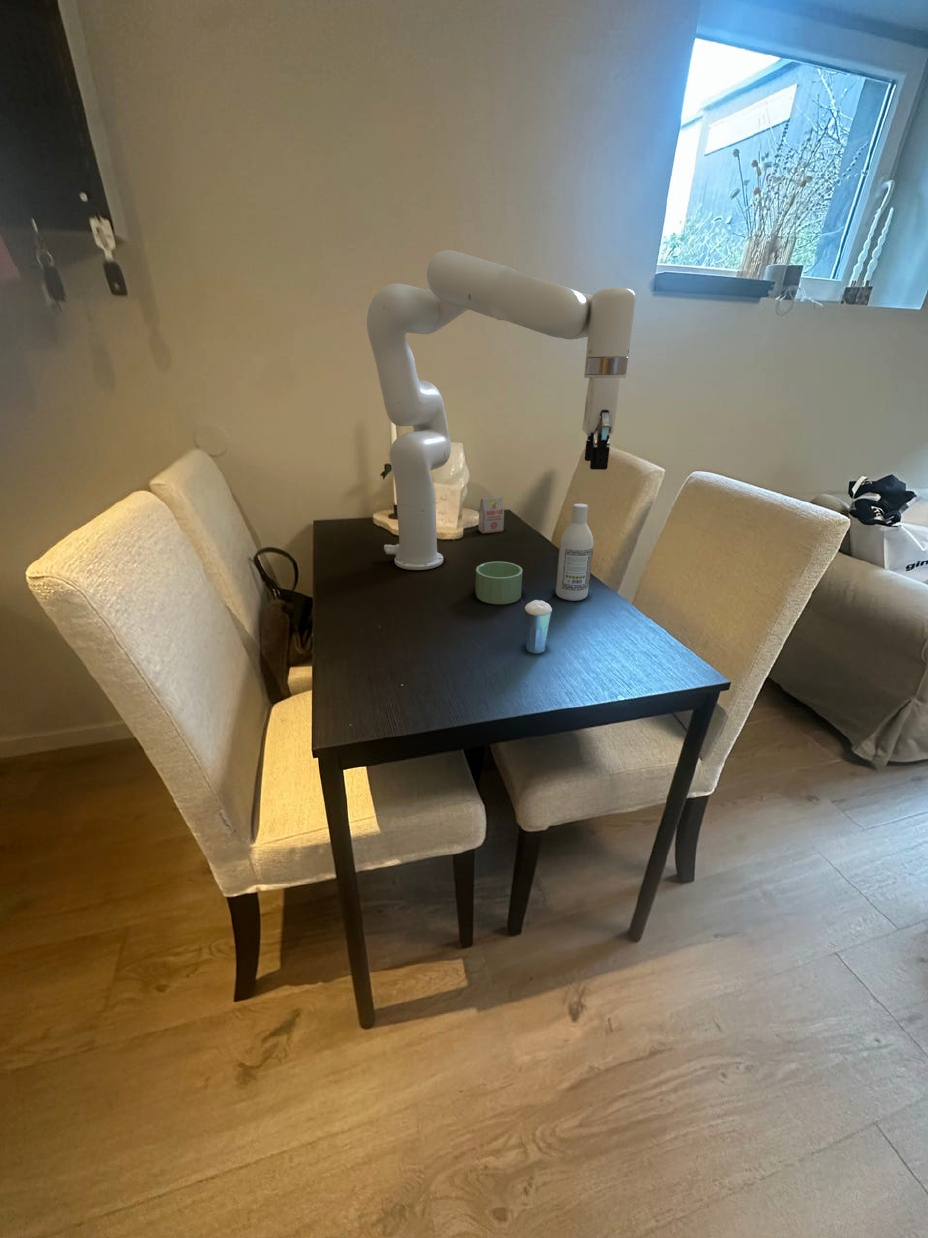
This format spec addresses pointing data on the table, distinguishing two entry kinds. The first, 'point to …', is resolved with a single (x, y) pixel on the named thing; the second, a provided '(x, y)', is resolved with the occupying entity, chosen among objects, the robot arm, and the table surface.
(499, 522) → the white and pink carton
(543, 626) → the milkshake
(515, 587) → the cup
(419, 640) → the table surface
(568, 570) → the bath foam
